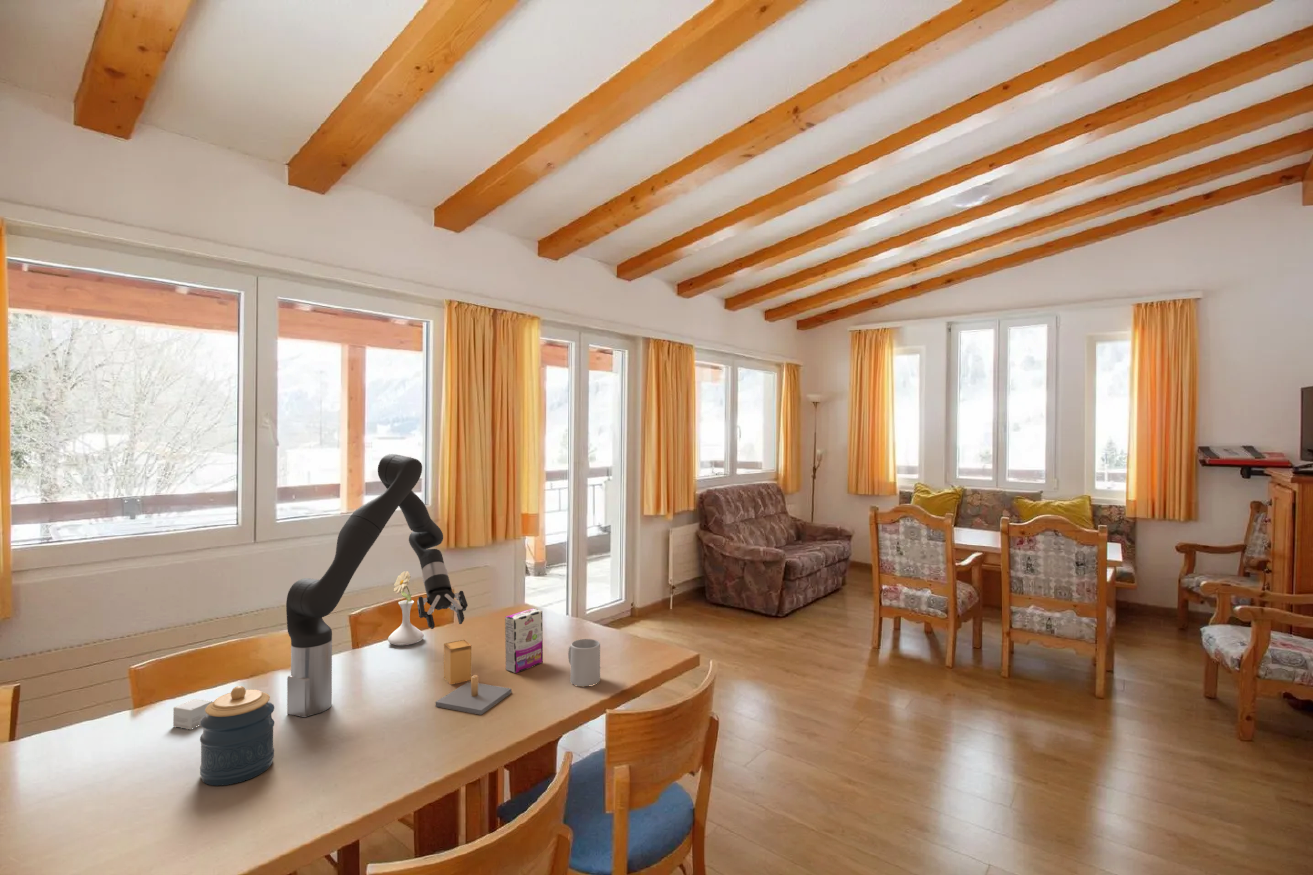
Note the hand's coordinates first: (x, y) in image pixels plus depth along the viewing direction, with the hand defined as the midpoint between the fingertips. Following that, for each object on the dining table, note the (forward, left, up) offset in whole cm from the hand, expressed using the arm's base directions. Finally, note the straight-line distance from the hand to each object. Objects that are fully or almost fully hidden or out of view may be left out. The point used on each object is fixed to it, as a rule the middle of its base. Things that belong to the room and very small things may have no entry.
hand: (447, 625), depth 186 cm
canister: (-62, +5, -13) cm, 63 cm away
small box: (-51, +35, -13) cm, 63 cm away
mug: (+6, -42, -13) cm, 44 cm away
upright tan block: (-6, -8, -13) cm, 16 cm away
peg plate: (-16, -21, -13) cm, 29 cm away
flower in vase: (+13, +27, -13) cm, 33 cm away
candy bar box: (+9, -21, -13) cm, 27 cm away
